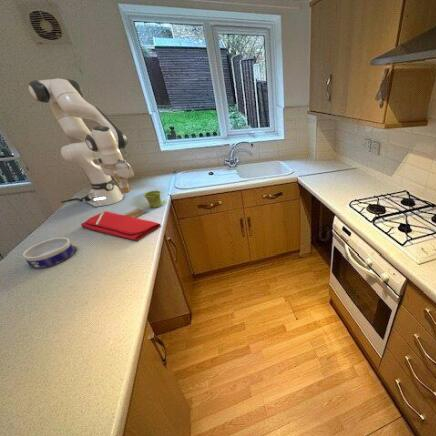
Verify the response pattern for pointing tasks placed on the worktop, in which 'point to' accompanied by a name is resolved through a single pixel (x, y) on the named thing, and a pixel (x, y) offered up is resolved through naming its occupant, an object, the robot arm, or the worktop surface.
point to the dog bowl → (49, 253)
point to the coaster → (135, 213)
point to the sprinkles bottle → (121, 183)
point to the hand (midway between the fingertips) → (122, 183)
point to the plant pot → (153, 198)
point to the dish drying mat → (120, 225)
